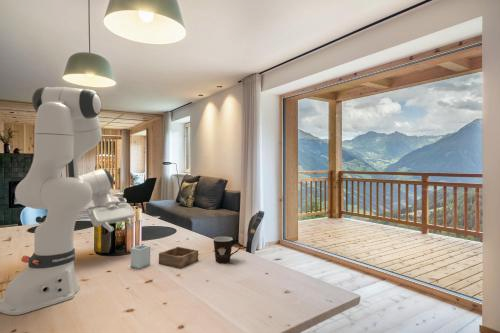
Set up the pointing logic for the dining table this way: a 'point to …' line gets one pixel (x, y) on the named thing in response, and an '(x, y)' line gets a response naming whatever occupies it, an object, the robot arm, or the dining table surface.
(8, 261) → the dining table surface
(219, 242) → the coffee mug
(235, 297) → the dining table surface
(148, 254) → the grey piece
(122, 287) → the dining table surface
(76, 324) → the dining table surface
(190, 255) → the brown wooden tray
